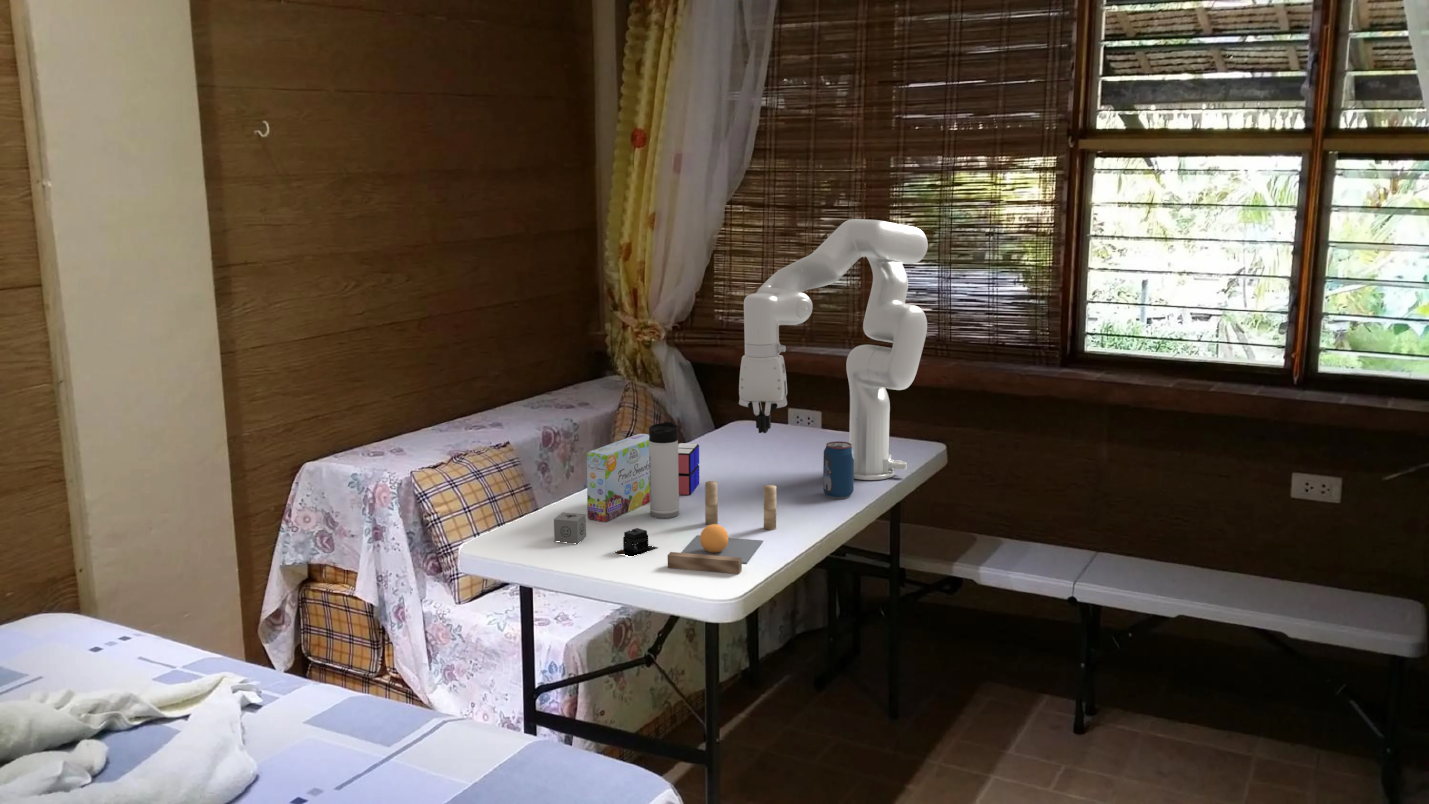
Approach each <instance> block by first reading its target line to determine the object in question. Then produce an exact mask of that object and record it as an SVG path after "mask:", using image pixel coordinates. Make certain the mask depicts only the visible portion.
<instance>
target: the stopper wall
mask: <svg viewBox="0 0 1429 804" xmlns="http://www.w3.org/2000/svg"><path fill="white" fill-rule="evenodd" d="M742 564H743V563H742V558H737V557H725V556H714V555H702V554H690V553H681V552H676V551H675V552H674V551H670V552H669V553H668V554H667V569H678V570H690V571H701V572H713V573H723V574H724V573H726V574H737V575H740V574H741V572H742V571H743V569H742Z"/></svg>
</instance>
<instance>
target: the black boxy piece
mask: <svg viewBox="0 0 1429 804" xmlns="http://www.w3.org/2000/svg"><path fill="white" fill-rule="evenodd" d="M622 544H623V545H622V546H623V547H622V549H623V550H622V549H620V551H619V550H617V552H616V551H614V552H615V553H618V554H625V555H628V556H634V555H637V554H640V555H642V554H646V553H648V552H647V551H649V552H652V551H654V550H657V549H659V547H657V546H654V545H651V546H648V545H649V534H648V531H647V530H646V529H642V528H639V527H636V528H633V529H631V530H627V531H624V532H623V537H622ZM652 546H653V547H652ZM645 552H646V553H645ZM615 553H614V554H615ZM618 554H617V555H618ZM637 556H638V555H637ZM634 557H635V556H634Z"/></svg>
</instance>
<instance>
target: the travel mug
mask: <svg viewBox="0 0 1429 804" xmlns="http://www.w3.org/2000/svg"><path fill="white" fill-rule="evenodd" d="M678 430H679V429H678V425H677V424H675V423H673V421H664V422H661V423H659V422H658V423H655V424H653V425H651V426H649V427H648V435H649V436H650V437H649V475H650V503H649V507H650V508H649V514H650V516H651V517H653V518H655V517H656V518H657V519H671V518H675V517H678V515H679V514H680V508H679V507H680V500H679V499H680V498H679V497H680V495H679V477H678V444H679V439H678V438H679V437H678V435H679V434H678V432H679V431H678Z"/></svg>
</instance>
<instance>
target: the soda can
mask: <svg viewBox="0 0 1429 804" xmlns="http://www.w3.org/2000/svg"><path fill="white" fill-rule="evenodd" d="M825 445H826V446H825V448H824V450H823V462H822V463H823V465H822V466H823V471H822V472H823V473H822V475H823V481H822V491H823V493H824V494H825V496H826V497H827V496H828V497H827V498H830V499H836V498H843V499H848V498H850V497H851V496H852V494H853V493H854V484H855V481H854V480H855V479H854V451H853V449H852V447H851V446H852V444H851V443H849V442H848V441H840V440H839V441H829V442H826V444H825ZM847 497H848V498H847Z"/></svg>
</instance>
